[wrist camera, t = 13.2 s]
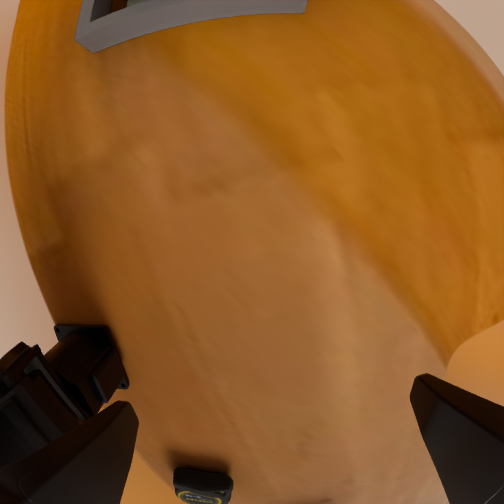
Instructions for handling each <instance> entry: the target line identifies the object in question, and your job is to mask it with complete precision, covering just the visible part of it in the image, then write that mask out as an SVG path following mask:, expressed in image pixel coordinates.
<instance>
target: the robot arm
mask: <svg viewBox="0 0 504 504" xmlns="http://www.w3.org/2000/svg"><path fill="white" fill-rule="evenodd" d="M54 330H55V333H56V336H57V339H58V341H59V342H58V343H57V344H56V345H55V346H54V347H53V348H52V349H50V350H49V351H48V352H47V353H46V354H45V355H43V354H42V352H41V349H40V347H39V346H38V344H36V345H34V346H33V347H31V348H30V347H29V346H28V345H26V344H25V343H23V342H20V343H19V344H17V345H16V346H15V347H14V348H12V349H11V350H10V351H9V352H7V353H6V354H5V355H4V356H3V357H2V358H1V359H0V504H120V501H121V497H122V494H123V490H124V487H125V483H126V480H127V476H128V473H129V470H130V466H131V463H132V458H133V453H134V447H135V442H136V436H137V431H138V426H139V421H138V417H137V415H136V413H135V411H134V409H133V407H132V405H131V404H130V403H129V402H127V401H120V400H119V401H116V402H114V403H113V404H111V405H110V406H108V407H107V408H105V409H104V410H102V411H101V412H99V410H100V409H101V407H102V405H103V404H104V403H108V401H109V400H110V398H111V397H112V395H113V393H114V392H115V390H116V389H128V387H129V385H130V384H129V381H128V379H127V376H126V373H125V370H124V368H123V365H122V363H121V360H120V357H119V355H118V352H117V350H116V347H115V344H114V341H113V339H112V336H111V333H110V330H109V328H108V327H107V326H104V325H77V324H56V325H55V326H54ZM103 331H105V333H104V332H103ZM124 384H125V385H124ZM410 402H411V405H412V408H413V410H414V413H415V416H416V419H417V423H418V426H419V429H420V432H421V435H422V437H423V440H424V442H425V444H426V447H427V449H428V451H429V453H430V456H431V458H432V460H433V463H434V465H435V467H436V470H437V472H438V475H439V477H440V480H441V482H442V485H443V487H444V490H445V492H446V495H447V498H448V500H449V503H450V504H504V406H501V405H499V404H496V403H494V402H491V401H489V400H487V399H484V398H482V397H480V396H477V395H475V394H473V393H471V392H468V391H466V390H464V389H461V388H459V387H457V386H455V385H452V384H450V383H448V382H446V381H444V380H441V379H439V378H437V377H435V376H433V375H430V374H428V373H425V374H422V375H419V376H416V378H415V379H414V383H413V386H412V390H411V393H410ZM98 412H99V413H98ZM97 413H98V414H97Z"/></svg>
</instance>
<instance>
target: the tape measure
mask: <svg viewBox="0 0 504 504" xmlns="http://www.w3.org/2000/svg"><path fill="white" fill-rule="evenodd" d="M173 484H174V487H175V494H176V496H177V497H178V498H180V499H181V500H182V501H184V502H186V503H188V504H228V502H229V501H230V498H231V492H232V490H233V480H232V479H231V477H230V476H227V475H223V474H217V473H210V472H203V471H197V470H191V469H186V468H181V467H177V468H176V469H174V473H173Z"/></svg>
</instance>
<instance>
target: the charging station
mask: <svg viewBox="0 0 504 504" xmlns="http://www.w3.org/2000/svg"><path fill="white" fill-rule="evenodd" d="M307 1H308V0H128V1H127V8H124V9H121V10H118V11H116V12H113V13H111V14H110V11H111V5H112V0H83V3H82V7H81V11H80V15H79V20H78V24H77V29H76V34H75V41H76V42H77V43H79V44H80V45H82V46H83V47H85V48H86V49H87V50H89V51H90V52H92V53H96V52H98V51H101V50H103V49H105V48H108V47H111V46H113V45H116V44H119V43H121V42H124V41H127V40H130V39H133V38H136V37H139V36H142V35H146V34H149V33H152V32H156V31H160V30H163V29H167V28H171V27H175V26H180V25H184V24H189V23H194V22H199V21H205V20H211V19H218V18H225V17H233V16H242V15H254V14H274V13H304V12H305V8H306V5H307Z"/></svg>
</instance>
